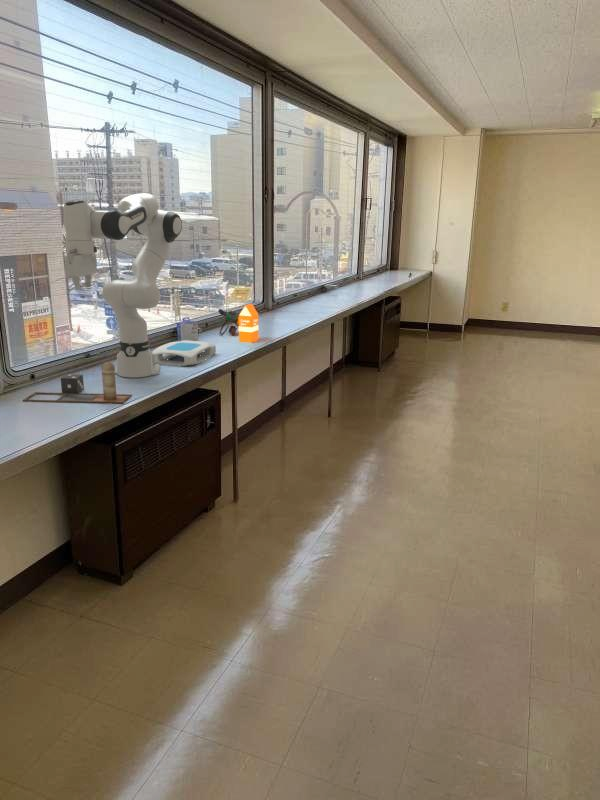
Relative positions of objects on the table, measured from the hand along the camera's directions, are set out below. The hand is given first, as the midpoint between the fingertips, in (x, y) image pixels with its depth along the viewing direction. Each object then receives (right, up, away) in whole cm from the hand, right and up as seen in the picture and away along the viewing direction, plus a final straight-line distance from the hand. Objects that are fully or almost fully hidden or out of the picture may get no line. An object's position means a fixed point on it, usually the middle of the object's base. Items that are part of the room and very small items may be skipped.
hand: (83, 288), depth 212 cm
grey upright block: (+19, -12, +97) cm, 100 cm away
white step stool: (+23, -21, +69) cm, 75 cm away
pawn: (+8, -39, +5) cm, 40 cm away
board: (-4, -39, +5) cm, 40 cm away
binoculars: (+38, -3, +128) cm, 133 cm away
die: (-9, -37, +14) cm, 40 cm away
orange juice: (+49, -8, +111) cm, 122 cm away
